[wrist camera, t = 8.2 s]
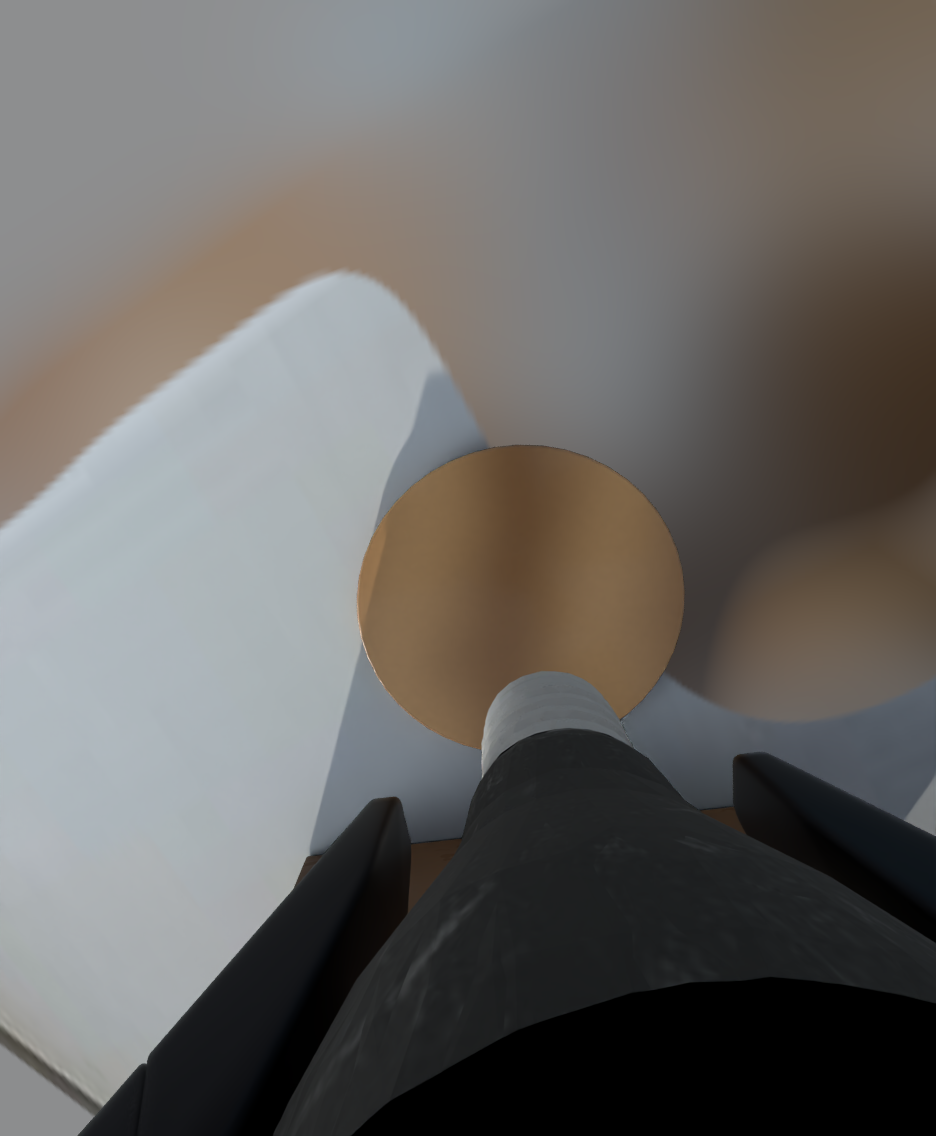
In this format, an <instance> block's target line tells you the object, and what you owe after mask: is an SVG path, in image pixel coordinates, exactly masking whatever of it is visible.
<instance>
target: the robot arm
mask: <svg viewBox="0 0 936 1136" xmlns="http://www.w3.org/2000/svg"><path fill="white" fill-rule="evenodd" d="M732 766H733V804H734V809H735V812H736V815H737V817H738V820H739V822H740V824H741V826H742V828H743V830H744V831H745V833H746V835H748V836H750V837H752V838H754V839H756V840H758V841H760V842H762V843H764V844H766V845H768V846H770V847H772V848H774V849H776V850H778V851H780V852H782V853H784V854H786V855H788V856H790V857H792V858H794V859H796V860H798V861H800V862H802V863H804V864H806V865H808V866H810V867H812V868H814V869H816V870H818V871H820V872H822V873H824V874H826V875H828V876H830V877H832V878H833V879H835V880H836V881H838V882H839V883H841V884H843V885H844V886H846V887H847V888H849V889H851V890H852V891H854V892H855V893H857V894H859V895H860V896H862V897H863V898H865V899H866V900H868V901H870V902H871V903H873V904H874V905H876V906H878V907H879V908H881V909H882V910H884V911H886V912H887V913H889V914H890V915H892V916H893V917H895V918H897V919H898V920H900V921H901V922H903V923H905V924H906V925H908V926H909V927H911V928H913V929H914V930H916V931H917V932H919V933H920V934H922V935H924V936H925V937H927V938H928V939H930V940H932V941H933V942H935V943H936V836H934V835H932V834H930V833H928V832H926V831H924V830H922V829H919V828H917V827H915V826H913V825H911V824H909V823H907V822H905V821H903V820H901V819H899V818H897V817H895V816H893V815H891V814H889V813H887V812H885V811H883V810H881V809H879V808H877V807H875V806H873V805H871V804H869V803H867V802H865V801H863V800H861V799H859V798H857V797H855V796H853V795H851V794H849V793H847V792H845V791H843V790H841V789H839V788H837V787H835V786H833V785H831V784H829V783H827V782H825V781H823V780H821V779H819V778H817V777H815V776H813V775H811V774H809V773H807V772H805V771H803V770H801V769H799V768H797V767H795V766H793V765H791V764H789V763H787V762H785V761H783V760H781V759H779V758H777V757H775V756H773V755H771V754H768V753H766V752H754V753H746V754H739V755H737V756H735V757H734V760H733V765H732ZM410 871H411V841H410V836H409V832H408V828H407V824H406V820H405V816H404V811H403V807H402V804H401V802H400V800H399V798H397V797H386V798H378V799H374V800H372V801H370V802H369V803H368V804H367V805H366V807H365V808H364V809H363V810H362V811H361V812H360V813H359V815H358V816H357V817H356V818H355V819H354V820H353V821H352V823H351V824H350V825H349V826H348V827H347V828H346V829H345V831H344V832H343V833H342V834H341V835H340V836H339V837H338V839H337V840H336V841H335V842H334V843H333V844H332V845H331V847H330V848H329V849H328V850H327V851H326V852H325V854H324V855H323V856H322V857H321V858H320V859H319V860H318V862H317V863H316V864H315V865H314V866H313V867H312V868H311V870H310V871H309V872H308V873H307V874H306V875H305V876H304V878H303V879H302V880H301V881H300V882H299V883H298V884H297V886H296V887H295V888H294V889H293V890H292V891H291V893H290V894H289V895H288V896H287V897H286V898H285V899H284V901H283V902H282V903H281V904H280V905H279V906H278V907H277V909H276V910H275V911H274V912H273V913H272V914H271V915H270V917H269V918H268V919H267V920H266V921H265V922H264V923H263V925H262V926H261V927H260V928H259V929H258V930H257V931H256V933H255V934H254V935H253V936H252V937H251V938H250V940H249V941H248V942H247V943H246V944H245V945H244V946H243V948H242V949H241V950H240V951H239V952H238V953H237V954H236V956H235V957H234V958H233V959H232V960H231V961H230V962H229V964H228V965H227V966H226V967H225V968H224V969H223V970H222V972H221V973H220V974H219V975H218V976H217V977H216V978H215V980H214V981H213V982H212V983H211V984H210V985H209V987H208V988H207V989H206V990H205V991H204V992H203V993H202V995H201V996H200V997H199V998H198V999H197V1000H196V1001H195V1003H194V1004H193V1005H192V1006H191V1007H190V1008H189V1009H188V1011H187V1012H186V1013H185V1014H184V1015H183V1016H182V1017H181V1019H180V1020H179V1021H178V1022H177V1023H176V1024H175V1026H174V1027H173V1028H172V1029H171V1030H170V1031H169V1032H168V1034H167V1035H166V1036H165V1037H164V1038H163V1039H162V1040H161V1042H160V1043H159V1044H158V1045H157V1046H156V1047H155V1048H154V1050H153V1051H152V1052H151V1053H150V1055H149V1057H148V1060H147V1064H145V1063H144V1064H141V1065H139V1066H138V1068H137V1069H136V1070H135V1071H134V1072H133V1073H132V1074H131V1076H130V1077H129V1078H128V1079H127V1080H126V1081H125V1082H124V1084H123V1085H122V1086H121V1087H120V1088H119V1089H118V1090H117V1092H116V1093H115V1094H114V1095H113V1096H112V1097H111V1098H110V1100H109V1101H108V1102H107V1103H106V1104H105V1105H104V1106H103V1108H102V1109H101V1110H100V1111H99V1112H98V1113H97V1114H96V1116H95V1117H94V1118H93V1119H92V1120H91V1121H90V1122H89V1123H88V1124H87V1126H86V1127H85V1128H84V1129H83V1130H82V1131H81V1132H80V1133H79V1134H78V1136H273V1133H274V1131H275V1129H276V1127H277V1125H278V1123H279V1122H280V1120H281V1118H282V1115H283V1113H284V1111H285V1109H286V1106H287V1104H288V1102H289V1100H290V1099H291V1097H292V1095H293V1093H294V1091H295V1090H296V1088H297V1086H298V1084H299V1082H300V1081H301V1079H302V1077H303V1075H304V1073H305V1072H306V1070H307V1068H308V1066H309V1064H310V1062H311V1061H312V1059H313V1057H314V1055H315V1053H316V1052H317V1050H318V1048H319V1046H320V1044H321V1043H322V1041H323V1039H324V1037H325V1035H326V1034H327V1032H328V1030H329V1028H330V1026H331V1024H332V1023H333V1021H334V1019H335V1017H336V1015H337V1014H338V1012H339V1010H340V1008H341V1006H342V1005H343V1003H344V1001H345V999H346V997H347V996H348V994H349V992H350V990H351V988H352V987H353V985H354V983H355V981H356V980H357V978H358V977H359V976H360V974H361V973H362V972H363V971H364V969H365V968H366V967H367V965H368V964H369V963H370V962H371V960H372V959H373V958H374V956H375V955H376V954H377V953H378V951H379V950H380V949H381V947H382V946H383V945H384V944H385V942H386V941H387V940H388V939H389V937H390V936H391V935H392V933H393V932H394V931H395V930H396V928H397V927H398V926H399V924H400V923H401V922H402V921H403V919H404V918H405V917H406V915H407V914H408V901H409V886H410Z"/></svg>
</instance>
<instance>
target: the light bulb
mask: <svg viewBox="0 0 936 1136" xmlns="http://www.w3.org/2000/svg"><path fill="white" fill-rule="evenodd" d="M481 745H482V761H481V763H482V780H481V781H480V783H479V785H478V787H477V790H476V792H475V794H474V796H473V798H472V801H471V804H470V808H469V812H468V816H467V821H466V825H465V829H464V833H463V837H462V841H461V843H460V845H459V847H458V849H457V851H456V852H455V854H454V856H453V857H452V859H451V860H450V861H449V863H448V864H447V865H446V866H445V868H444V869H443V870H442V871H441V873H440V874H439V875H438V876H437V878H436V879H435V880H434V881H433V883H432V884H431V885H430V886H429V888H428V889H427V890H426V891H425V893H424V894H423V895H422V896H421V898H420V899H419V900H418V902H417V903H416V904H415V905H414V907H413V908H412V909H411V910H410V912H409V913H408V914H407V915H406V917H405V918H404V919H403V921H402V922H401V923H400V924H399V926H398V927H397V928H396V930H395V931H394V932H393V933H392V935H391V936H390V937H389V939H388V940H387V941H386V942H385V944H384V945H383V946H382V947H381V949H380V950H379V951H378V953H377V954H376V955H375V956H374V958H373V959H372V960H371V962H370V963H369V964H368V965H367V967H366V968H365V969H364V971H363V972H362V973H361V974H360V976H359V977H358V978H357V980H356V981H355V983H354V985H353V987H352V988H351V990H350V992H349V994H348V996H347V997H346V999H345V1001H344V1003H343V1005H342V1006H341V1008H340V1010H339V1012H338V1014H337V1015H336V1017H335V1019H334V1021H333V1023H332V1024H331V1026H330V1028H329V1030H328V1032H327V1034H326V1035H325V1037H324V1039H323V1041H322V1043H321V1044H320V1046H319V1048H318V1050H317V1052H316V1053H315V1055H314V1057H313V1059H312V1061H311V1062H310V1064H309V1066H308V1068H307V1070H306V1072H305V1073H304V1075H303V1077H302V1079H301V1081H300V1082H299V1084H298V1086H297V1088H296V1090H295V1091H294V1093H293V1095H292V1097H291V1099H290V1100H289V1102H288V1104H287V1106H286V1109H285V1111H284V1113H283V1115H282V1118H281V1120H280V1122H279V1123H278V1125H277V1127H276V1129H275V1131H274V1133H273V1136H936V943H935V942H933V941H932V940H930V939H928V938H927V937H925V936H924V935H922V934H920V933H919V932H917V931H916V930H914V929H913V928H911V927H909V926H908V925H906V924H905V923H903V922H901V921H900V920H898V919H897V918H895V917H893V916H892V915H890V914H889V913H887V912H886V911H884V910H882V909H881V908H879V907H878V906H876V905H874V904H873V903H871V902H870V901H868V900H866V899H865V898H863V897H862V896H860V895H859V894H857V893H855V892H854V891H852V890H851V889H849V888H847V887H846V886H844V885H843V884H841V883H839V882H838V881H836V880H835V879H833V878H832V877H830V876H828V875H826V874H824V873H822V872H820V871H818V870H816V869H814V868H812V867H810V866H808V865H806V864H804V863H802V862H800V861H798V860H796V859H794V858H792V857H790V856H788V855H786V854H784V853H782V852H780V851H778V850H776V849H774V848H772V847H770V846H768V845H766V844H764V843H762V842H760V841H758V840H756V839H754V838H752V837H750V836H748V835H746V834H744V833H742V832H740V831H738V830H735V829H733V828H731V827H729V826H727V825H725V824H723V823H721V822H719V821H717V820H715V819H713V818H711V817H709V816H707V815H705V814H704V813H702V812H701V811H699V810H698V809H696V808H695V807H694V806H692V805H691V804H689V803H688V802H686V801H685V800H684V799H683V798H682V796H681V795H680V794H679V793H678V792H677V791H676V789H675V788H674V787H673V786H672V785H671V784H670V783H669V781H668V780H667V779H666V778H665V777H664V776H663V775H662V773H661V772H660V771H659V770H658V769H657V768H656V767H655V766H654V764H653V763H652V762H651V761H650V760H649V759H648V758H647V757H645V756H644V755H642V754H641V753H639V752H638V751H636V750H635V749H634V748H633V745H632V744H631V742H630V740H629V739H628V738H627V735H626V732H625V730H624V728H623V726H622V724H621V722H620V720H619V718H618V716H617V715H616V713H615V712H614V710H613V709H612V707H611V706H610V705H609V703H608V702H607V701H606V700H605V699H604V698H603V696H602V694H601V693H600V692H599V691H598V690H597V689H596V688H595V687H594V686H593V685H591V684H590V683H588V682H587V681H585V680H584V679H582V678H580V677H577V676H575V675H572V674H570V673H564V672H555V671H540V672H536V673H533V674H529V675H525V676H522V677H520V678H518V679H517V680H515V681H513V682H511V683H509V684H508V685H507V686H506V687H505V688H504V689H503V690H502V691H501V692H499V693H498V694H497V696H496V698H495V699H494V701H493V702H492V704H491V706H490V708H489V710H488V713H487V717H486V720H485V727H484V735H483V739H482V743H481Z"/></svg>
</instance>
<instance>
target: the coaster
mask: <svg viewBox="0 0 936 1136" xmlns="http://www.w3.org/2000/svg"><path fill="white" fill-rule="evenodd" d="M684 596H685V588H684V579H683V571H682V566H681V562H680V559H679V554H678V551H677V548H676V545H675V543H674V540H673V538H672V536H671V534H670V531H669V529H668V527H667V526H666V524H665V522H664V521H663V519H662V517H661V516H660V514H659V513H658V511H657V510H656V508H655V507H654V506H653V505H652V504H651V502H650V501H649V500H648V499H647V498H646V496H645V495H644V494H643V493H642V492H641V491H639V489H637V488H636V487H635V486H634V485H633V484H632V483H631V482H630V481H628V480H627V479H626V478H625V477H623V476H622V475H620V474H619V473H617V472H616V471H614V470H613V469H611V468H610V467H608V466H606V465H604V464H602V463H600V462H597V461H596V460H593V459H591V458H589V457H587V456H584V455H580V454H577V453H574V452H571V451H568V450H565V449H559V448H552V447H547V446H538V445H537V446H536V445H512V446H502V447H493V448H489V449H485V450H481V451H477V452H473V453H470V454H467V455H465V456H462V457H460V458H457V459H454V460H452V461H450V462H448V463H446V464H444V465H443V466H441V467H439V468H437V469H435V470H434V471H432V472H430V473H429V474H427V475H426V476H425V477H423V478H422V479H421V480H419V481H418V482H417V483H415V484H414V485H413V486H411V487H410V488H409V489H408V490H407V491H406V492H405V493H404V494H403V495H402V496H401V497H400V498H399V499H398V500H397V501H396V502H395V503H394V505H393V506H392V507H391V509H390V510H389V511H388V513H387V514H386V515H385V516H384V518H383V519H382V521H381V522H380V524H379V526H378V528H377V529H376V531H375V533H374V535H373V536H372V538H371V541H370V543H369V546H368V548H367V551H366V553H365V556H364V559H363V563H362V567H361V571H360V575H359V582H358V591H357V616H358V623H359V629H360V634H361V639H362V642H363V645H364V648H365V651H366V654H367V657H368V659H369V661H370V663H371V665H372V667H373V669H374V672H375V674H376V675H377V677H378V678H379V680H380V681H381V683H382V684H383V686H384V688H385V689H386V690H387V692H388V693H389V694H390V695H391V696H392V697H393V699H394V700H395V701H396V702H397V703H398V704H399V705H400V706H401V707H402V708H403V709H404V710H405V711H406V712H407V713H408V714H409V715H411V716H412V717H413V718H414V719H416V720H417V721H418V722H420V723H421V724H423V725H424V726H425V727H427V728H428V729H430V730H432V731H434V732H436V733H438V734H439V735H441V736H443V737H445V738H447V739H450V740H452V741H455V742H457V743H460V744H462V745H466V746H470V747H473V748H477V749H481V750H482V745H481V743H482V739H483V735H484V727H485V720H486V717H487V713H488V710H489V708H490V706H491V704H492V702H493V701H494V699H495V698H496V696H497V694H498V693H499V692H501V691H502V690H503V689H504V688H505V687H506V686H507V685H508V684H509V683H511V682H513V681H515V680H517V679H518V678H520V677H522V676H525V675H529V674H533V673H536V672H540V671H555V672H564V673H570V674H572V675H575V676H577V677H580V678H582V679H584V680H585V681H587V682H588V683H590V684H591V685H593V686H594V687H595V688H596V689H597V690H598V691H599V692H600V693H601V694H602V696H603V698H604V699H605V700H606V701H607V702H608V703H609V705H610V706H611V707H612V709H613V710H614V712H615V713H616V715H617V716H618V718H619V720H620V719H621V718H623V717H624V716H625V715H627V714H628V713H629V712H630V711H631V710H632V709H634V708H635V707H636V706H637V705H638V704H639V703H640V702H641V701H642V700H643V699H644V698H645V696H646V695H647V694H648V693H649V692H650V690H651V689H652V688H653V687H654V686H655V684H656V683H657V681H658V680H659V678H660V677H661V675H662V673H663V672H664V670H665V669H666V667H667V665H668V663H669V660H670V658H671V656H672V654H673V652H674V650H675V647H676V644H677V640H678V637H679V634H680V631H681V625H682V619H683V614H684Z"/></svg>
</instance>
